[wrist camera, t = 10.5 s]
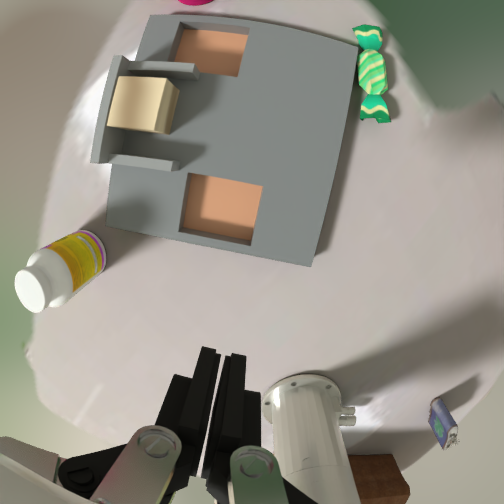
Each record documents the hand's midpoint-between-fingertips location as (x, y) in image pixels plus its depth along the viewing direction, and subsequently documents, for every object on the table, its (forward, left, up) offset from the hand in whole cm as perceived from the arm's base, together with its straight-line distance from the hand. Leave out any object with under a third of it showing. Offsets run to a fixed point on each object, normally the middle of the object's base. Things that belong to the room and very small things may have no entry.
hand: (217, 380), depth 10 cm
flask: (-45, +28, -25) cm, 58 cm away
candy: (-11, -22, -25) cm, 35 cm away
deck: (+4, -11, -24) cm, 27 cm away
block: (+12, -12, -22) cm, 28 cm away
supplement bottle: (+20, +7, -25) cm, 32 cm away
